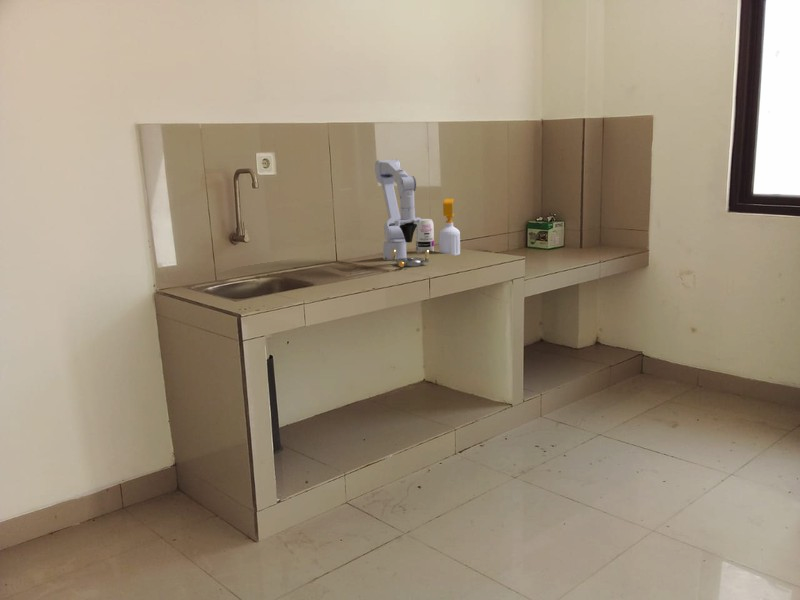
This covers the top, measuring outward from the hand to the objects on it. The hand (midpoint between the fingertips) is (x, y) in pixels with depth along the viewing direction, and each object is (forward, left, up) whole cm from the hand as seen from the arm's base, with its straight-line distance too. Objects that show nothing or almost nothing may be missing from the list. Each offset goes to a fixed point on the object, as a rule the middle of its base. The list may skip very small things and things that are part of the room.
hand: (408, 242), depth 270 cm
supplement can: (-6, +37, -11) cm, 39 cm away
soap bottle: (+7, +33, -11) cm, 36 cm away
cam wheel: (+1, -4, -9) cm, 10 cm away
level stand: (+1, -3, -10) cm, 11 cm away
